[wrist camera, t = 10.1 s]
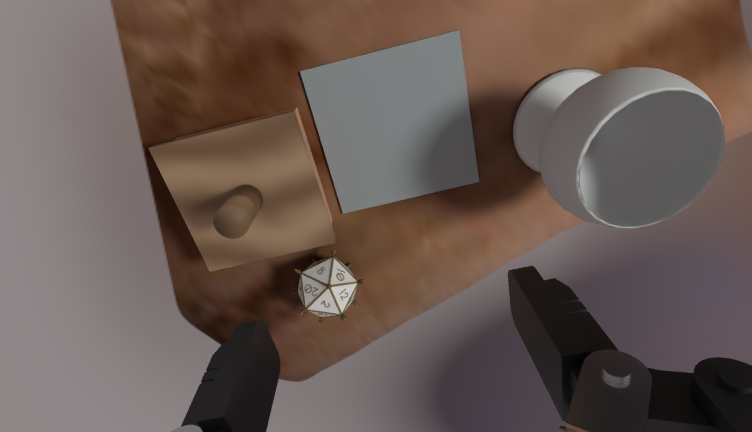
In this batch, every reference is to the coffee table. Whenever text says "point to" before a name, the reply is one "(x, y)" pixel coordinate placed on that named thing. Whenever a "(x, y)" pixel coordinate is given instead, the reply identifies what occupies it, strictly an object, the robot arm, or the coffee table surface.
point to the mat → (395, 122)
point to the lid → (246, 190)
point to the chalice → (620, 143)
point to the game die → (327, 287)
